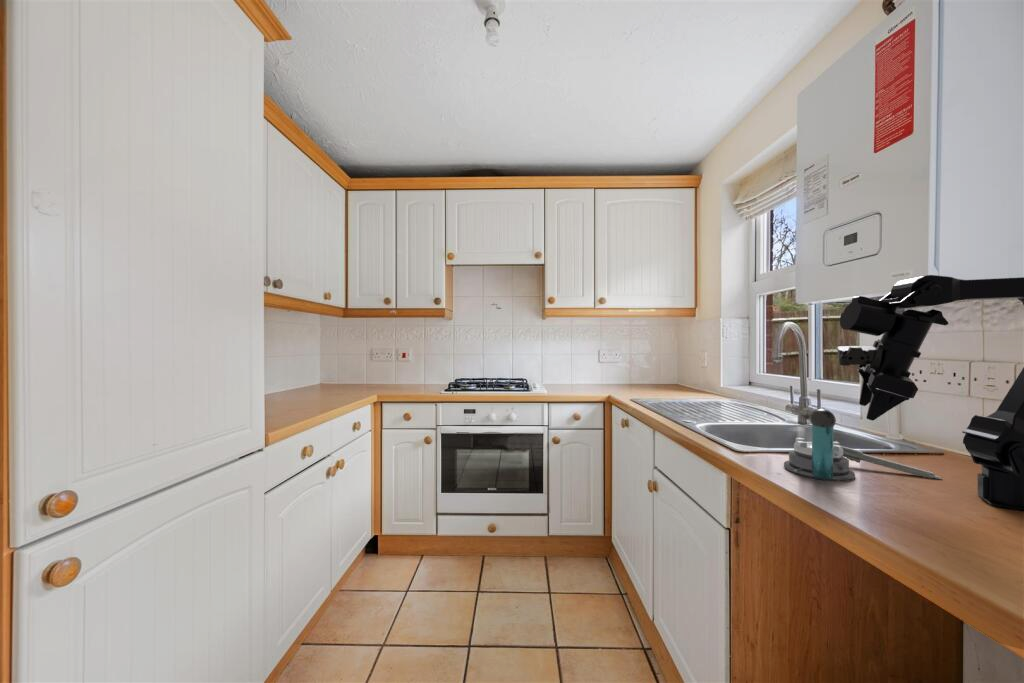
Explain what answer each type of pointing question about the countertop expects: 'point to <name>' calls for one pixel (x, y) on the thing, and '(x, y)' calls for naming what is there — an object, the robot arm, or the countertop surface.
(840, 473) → the cap housing
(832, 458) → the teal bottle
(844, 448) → the caliper
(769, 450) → the countertop surface
